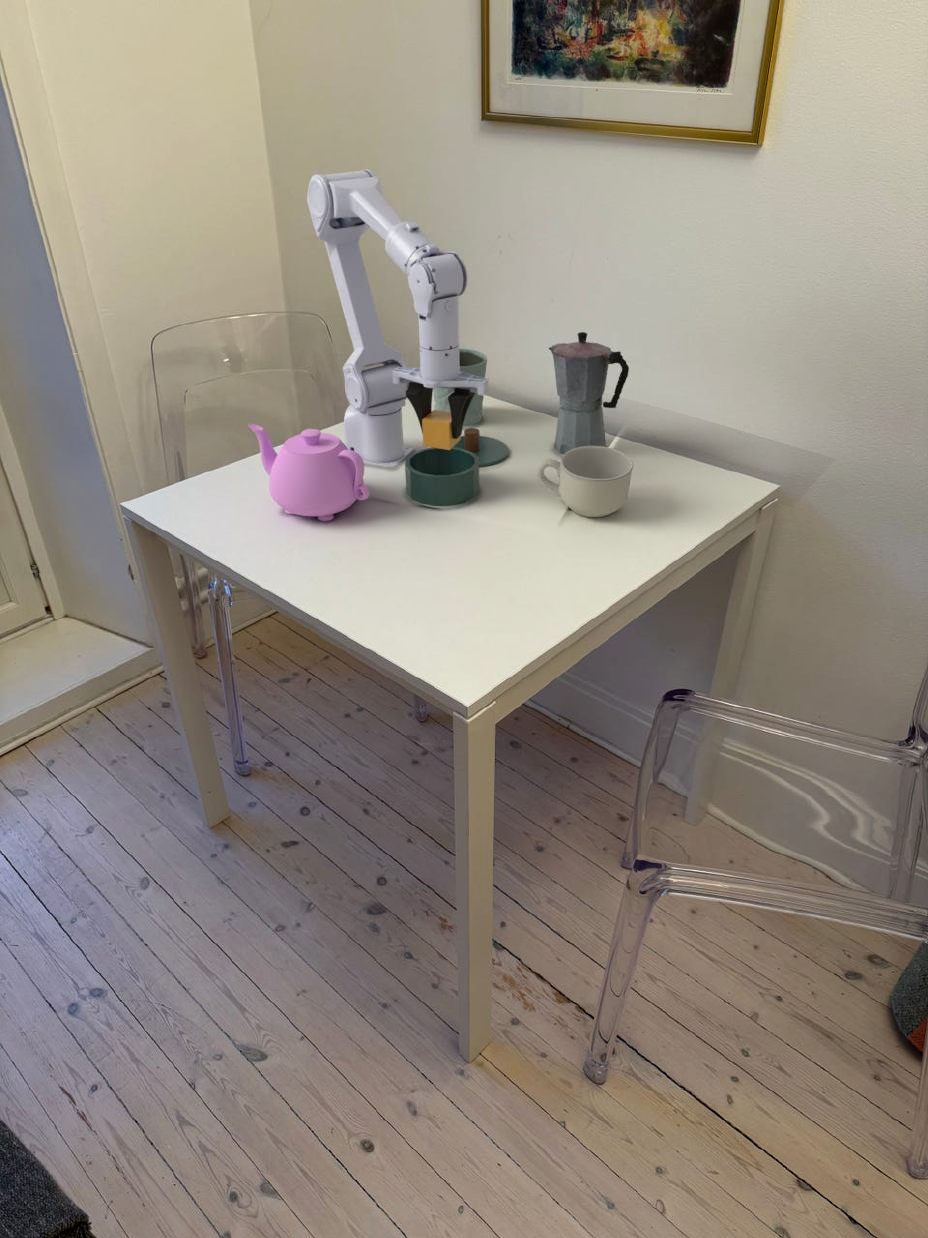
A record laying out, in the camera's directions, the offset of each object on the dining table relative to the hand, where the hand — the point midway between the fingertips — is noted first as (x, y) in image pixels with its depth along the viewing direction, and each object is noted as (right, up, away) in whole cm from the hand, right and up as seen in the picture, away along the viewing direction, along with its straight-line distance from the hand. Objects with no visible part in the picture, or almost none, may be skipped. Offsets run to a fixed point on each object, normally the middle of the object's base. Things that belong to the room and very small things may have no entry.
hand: (441, 434), depth 134 cm
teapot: (-20, -11, +3) cm, 23 cm away
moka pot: (+24, +1, +19) cm, 31 cm away
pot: (0, -8, +6) cm, 10 cm away
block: (0, -1, +1) cm, 1 cm away
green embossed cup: (+3, +9, +31) cm, 32 cm away
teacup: (+22, -11, +1) cm, 24 cm away
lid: (+5, +1, +17) cm, 18 cm away
